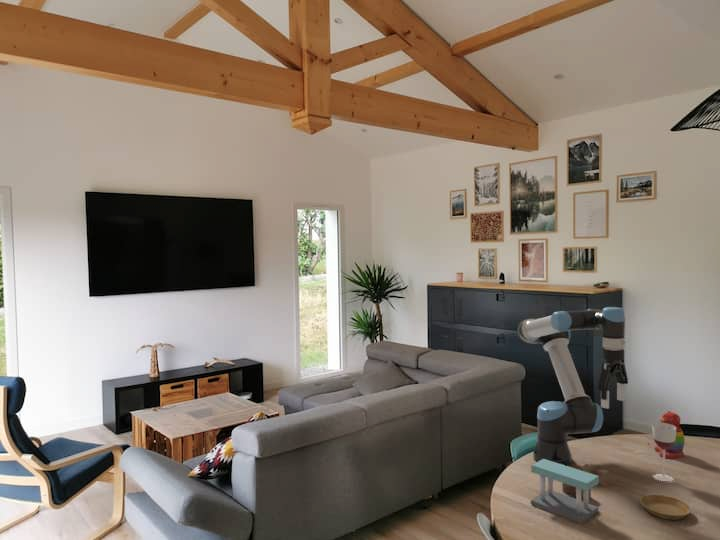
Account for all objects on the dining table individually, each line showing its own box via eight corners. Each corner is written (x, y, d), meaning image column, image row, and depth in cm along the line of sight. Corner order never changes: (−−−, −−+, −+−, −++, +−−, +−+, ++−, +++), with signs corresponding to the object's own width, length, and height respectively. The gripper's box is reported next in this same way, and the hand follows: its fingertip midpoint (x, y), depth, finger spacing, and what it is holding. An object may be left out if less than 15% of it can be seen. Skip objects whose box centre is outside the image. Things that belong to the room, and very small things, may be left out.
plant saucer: (641, 498, 191) (641, 490, 191) (690, 507, 184) (690, 500, 184) (638, 516, 179) (638, 508, 179) (691, 527, 171) (691, 519, 171)
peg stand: (530, 504, 188) (530, 474, 187) (548, 493, 196) (548, 464, 195) (580, 523, 174) (580, 491, 174) (598, 511, 182) (598, 480, 182)
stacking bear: (653, 448, 236) (653, 408, 235) (678, 449, 234) (679, 409, 233) (661, 458, 225) (662, 416, 224) (688, 459, 223) (689, 417, 222)
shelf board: (598, 483, 180) (598, 475, 179) (587, 490, 174) (587, 483, 174) (543, 465, 195) (543, 458, 195) (531, 472, 189) (531, 464, 189)
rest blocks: (562, 491, 197) (562, 477, 197) (586, 476, 209) (586, 464, 209) (586, 499, 190) (586, 485, 190) (609, 484, 202) (609, 471, 202)
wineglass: (674, 475, 209) (675, 424, 208) (677, 484, 201) (677, 431, 200) (651, 471, 212) (651, 421, 211) (652, 480, 204) (653, 428, 203)
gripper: (608, 354, 194) (608, 413, 195) (637, 345, 210) (637, 399, 211) (587, 351, 200) (587, 408, 201) (617, 342, 216) (617, 395, 217)
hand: (613, 404), depth 206 cm, fingers open, 13 cm apart
